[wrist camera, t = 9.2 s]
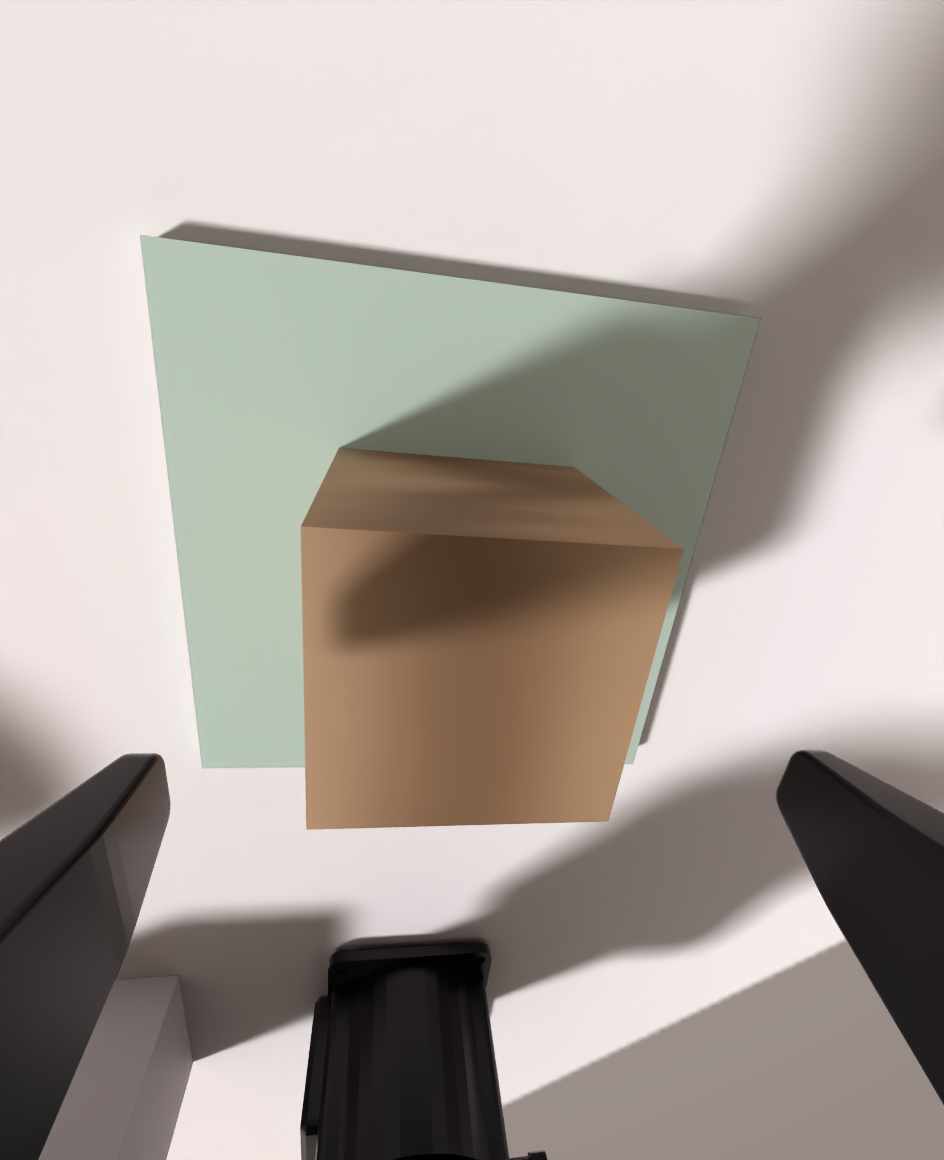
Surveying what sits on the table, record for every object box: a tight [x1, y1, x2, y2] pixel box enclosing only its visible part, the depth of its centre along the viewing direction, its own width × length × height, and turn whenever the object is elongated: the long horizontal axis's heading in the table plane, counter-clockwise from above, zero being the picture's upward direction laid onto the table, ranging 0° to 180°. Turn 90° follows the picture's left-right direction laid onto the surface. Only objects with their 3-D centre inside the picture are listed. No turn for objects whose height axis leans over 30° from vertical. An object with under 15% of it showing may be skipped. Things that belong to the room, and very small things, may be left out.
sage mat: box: [140, 235, 760, 768], centre depth 15 cm, size 14×14×1 cm
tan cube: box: [301, 448, 684, 829], centre depth 12 cm, size 6×6×6 cm
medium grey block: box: [39, 975, 193, 1160], centre depth 19 cm, size 6×6×6 cm
